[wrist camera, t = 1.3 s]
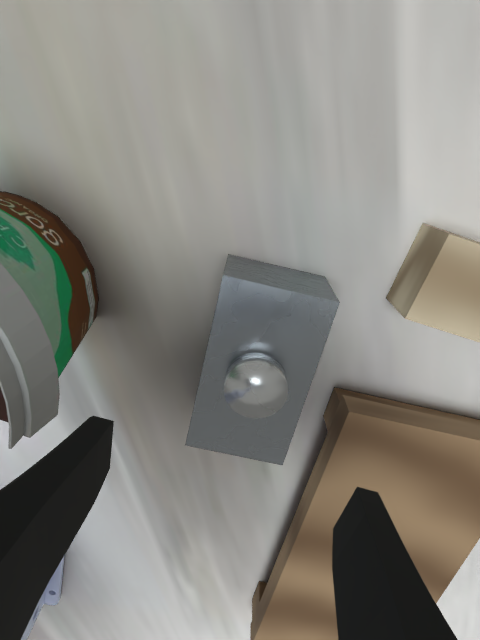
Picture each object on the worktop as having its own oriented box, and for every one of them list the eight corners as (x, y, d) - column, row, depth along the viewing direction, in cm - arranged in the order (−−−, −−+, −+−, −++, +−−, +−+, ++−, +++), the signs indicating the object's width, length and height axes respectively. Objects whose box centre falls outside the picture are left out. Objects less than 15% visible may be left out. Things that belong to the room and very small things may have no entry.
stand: (377, 626, 31) (389, 673, 28) (250, 603, 30) (250, 648, 27) (502, 417, 23) (536, 453, 20) (337, 379, 23) (349, 411, 20)
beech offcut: (487, 329, 21) (522, 356, 19) (384, 296, 21) (404, 318, 18) (530, 260, 20) (575, 277, 17) (421, 222, 19) (449, 233, 17)
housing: (278, 417, 24) (283, 480, 19) (195, 399, 24) (181, 459, 19) (324, 275, 21) (344, 310, 16) (228, 253, 20) (221, 282, 16)
